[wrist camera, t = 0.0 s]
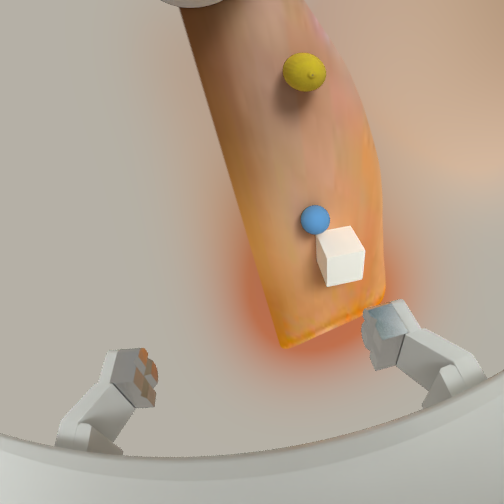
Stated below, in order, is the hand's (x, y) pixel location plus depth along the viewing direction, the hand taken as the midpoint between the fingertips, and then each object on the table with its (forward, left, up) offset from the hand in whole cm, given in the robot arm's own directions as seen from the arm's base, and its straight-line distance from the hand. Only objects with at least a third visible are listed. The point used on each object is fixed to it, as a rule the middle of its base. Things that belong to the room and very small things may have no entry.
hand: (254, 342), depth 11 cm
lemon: (-4, +11, -39) cm, 41 cm away
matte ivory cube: (+29, +15, -39) cm, 51 cm away
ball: (+21, +11, -36) cm, 43 cm away
